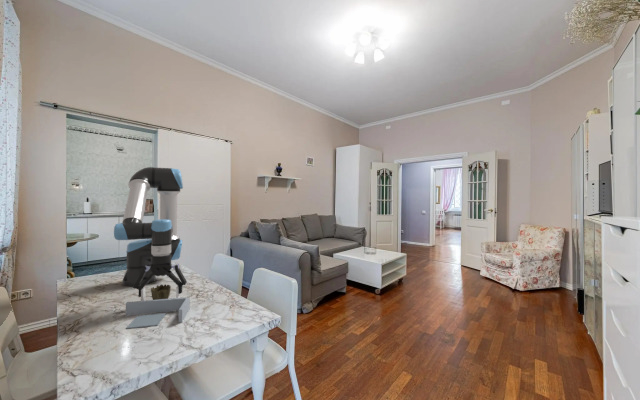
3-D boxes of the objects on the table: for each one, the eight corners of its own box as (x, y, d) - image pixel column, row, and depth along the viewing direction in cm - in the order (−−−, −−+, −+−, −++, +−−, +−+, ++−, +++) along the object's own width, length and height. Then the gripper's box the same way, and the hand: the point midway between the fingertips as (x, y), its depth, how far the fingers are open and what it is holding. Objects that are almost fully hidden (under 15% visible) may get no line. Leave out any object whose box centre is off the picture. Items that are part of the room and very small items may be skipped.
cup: (158, 309, 106) (159, 291, 106) (146, 306, 109) (146, 288, 109) (174, 303, 113) (174, 285, 113) (162, 300, 116) (162, 283, 116)
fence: (127, 314, 102) (127, 302, 102) (189, 308, 108) (190, 296, 108) (110, 330, 90) (110, 316, 90) (182, 322, 96) (182, 309, 96)
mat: (138, 316, 100) (138, 315, 100) (166, 313, 103) (166, 312, 103) (126, 329, 91) (126, 327, 91) (157, 325, 93) (157, 324, 93)
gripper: (124, 257, 104) (123, 308, 104) (190, 254, 111) (189, 302, 111) (132, 254, 111) (132, 301, 111) (194, 251, 118) (193, 296, 118)
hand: (160, 302), depth 111 cm, fingers open, 13 cm apart
